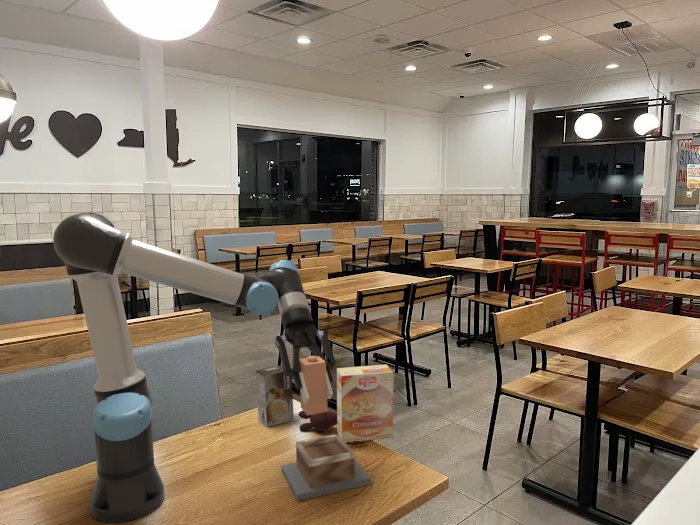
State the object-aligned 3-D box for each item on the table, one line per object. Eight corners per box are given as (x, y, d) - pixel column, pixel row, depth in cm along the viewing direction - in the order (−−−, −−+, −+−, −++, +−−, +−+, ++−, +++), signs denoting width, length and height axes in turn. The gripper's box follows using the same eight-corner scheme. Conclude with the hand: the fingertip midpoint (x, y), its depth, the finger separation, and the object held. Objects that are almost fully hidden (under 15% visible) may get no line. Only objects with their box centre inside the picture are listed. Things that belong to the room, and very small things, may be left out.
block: (307, 415, 121) (304, 361, 120) (300, 407, 126) (298, 355, 124) (327, 411, 123) (325, 358, 122) (320, 403, 128) (318, 352, 126)
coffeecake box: (341, 444, 145) (340, 375, 142) (336, 433, 151) (335, 367, 149) (393, 438, 148) (393, 371, 145) (386, 427, 155) (386, 363, 152)
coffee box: (284, 413, 165) (283, 364, 163) (294, 420, 160) (292, 369, 158) (257, 420, 160) (255, 369, 158) (266, 428, 155) (264, 375, 153)
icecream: (349, 403, 156) (300, 407, 158) (347, 407, 149) (295, 410, 150) (351, 427, 156) (301, 431, 157) (349, 432, 148) (297, 436, 149)
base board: (297, 501, 117) (297, 494, 117) (281, 471, 130) (281, 465, 130) (370, 484, 124) (370, 478, 124) (348, 457, 137) (348, 451, 137)
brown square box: (310, 487, 120) (309, 462, 119) (296, 465, 130) (296, 441, 129) (354, 478, 124) (354, 453, 123) (338, 457, 134) (337, 433, 133)
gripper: (325, 318, 140) (351, 398, 127) (258, 326, 133) (277, 412, 120) (332, 302, 134) (359, 384, 121) (262, 309, 127) (282, 398, 114)
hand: (318, 398), depth 121 cm, fingers closed on block, 5 cm apart
